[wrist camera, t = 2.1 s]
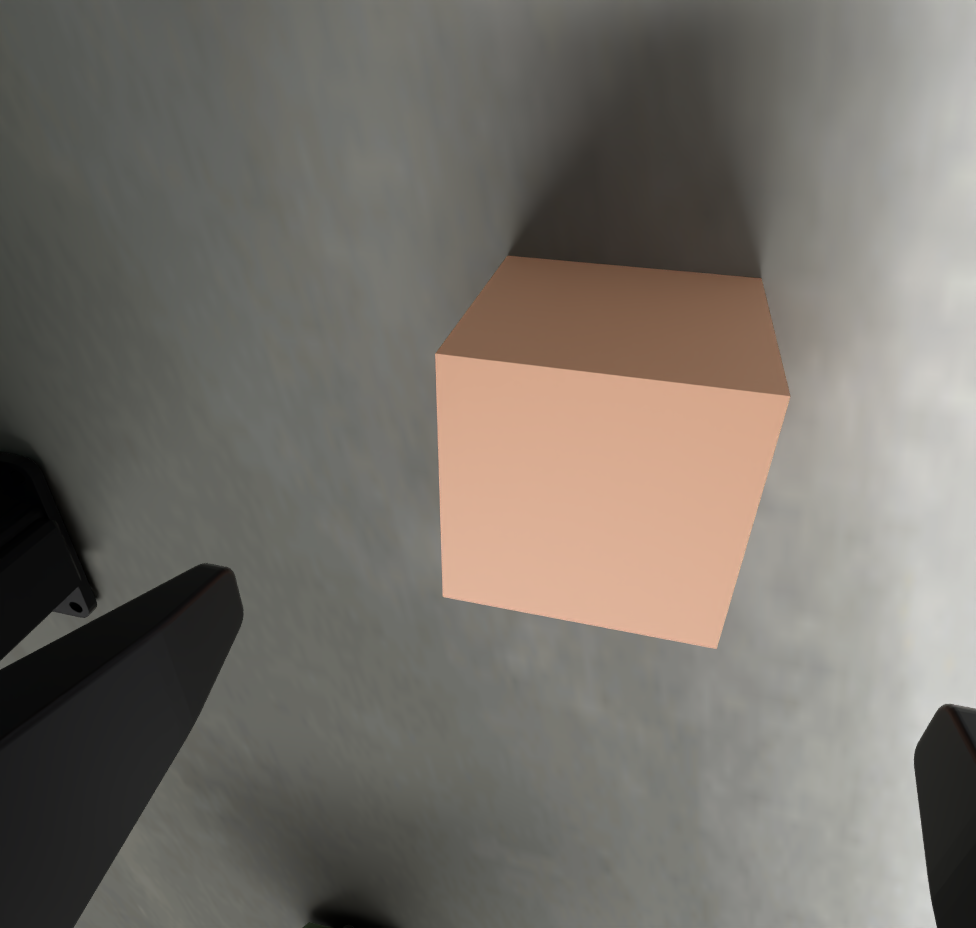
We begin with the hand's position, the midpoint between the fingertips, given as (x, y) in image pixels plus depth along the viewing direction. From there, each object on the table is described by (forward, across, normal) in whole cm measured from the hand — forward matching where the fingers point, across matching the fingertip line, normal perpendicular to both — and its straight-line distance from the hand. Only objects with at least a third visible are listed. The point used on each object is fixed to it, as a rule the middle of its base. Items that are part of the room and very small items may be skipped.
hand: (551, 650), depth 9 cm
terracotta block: (+8, 0, 0) cm, 8 cm away
